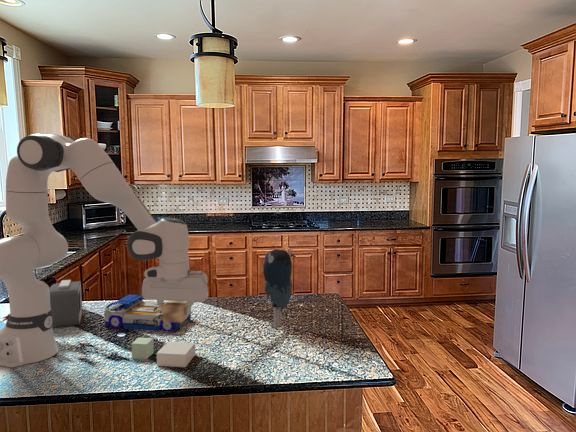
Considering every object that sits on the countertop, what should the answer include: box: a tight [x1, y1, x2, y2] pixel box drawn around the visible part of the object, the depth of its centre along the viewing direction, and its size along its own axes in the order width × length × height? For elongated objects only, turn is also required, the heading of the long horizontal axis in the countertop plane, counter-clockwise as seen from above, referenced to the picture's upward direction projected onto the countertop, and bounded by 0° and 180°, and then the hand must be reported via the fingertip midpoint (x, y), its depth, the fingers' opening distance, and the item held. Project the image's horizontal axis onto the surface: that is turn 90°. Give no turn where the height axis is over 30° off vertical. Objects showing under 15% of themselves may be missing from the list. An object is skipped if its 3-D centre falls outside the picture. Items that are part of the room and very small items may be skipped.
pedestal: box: [156, 341, 196, 368], centre depth 135 cm, size 9×9×4 cm
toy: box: [262, 248, 293, 329], centre depth 163 cm, size 14×11×30 cm
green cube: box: [130, 336, 155, 360], centre depth 138 cm, size 5×5×5 cm
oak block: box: [163, 300, 189, 323], centre depth 133 cm, size 6×6×5 cm
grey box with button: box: [49, 279, 83, 328], centre depth 168 cm, size 16×11×16 cm
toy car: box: [103, 294, 192, 333], centre depth 167 cm, size 16×30×10 cm, turn 80°
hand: (175, 313), depth 134 cm, fingers closed on oak block, 6 cm apart
